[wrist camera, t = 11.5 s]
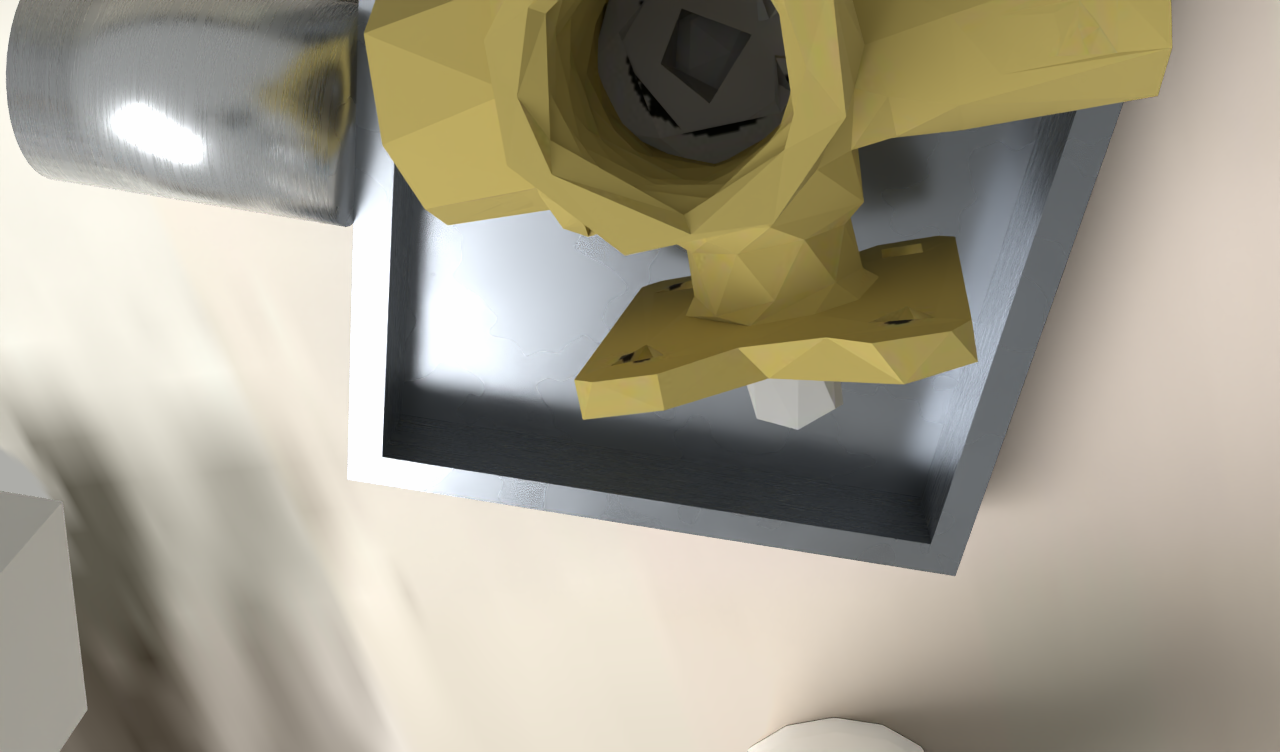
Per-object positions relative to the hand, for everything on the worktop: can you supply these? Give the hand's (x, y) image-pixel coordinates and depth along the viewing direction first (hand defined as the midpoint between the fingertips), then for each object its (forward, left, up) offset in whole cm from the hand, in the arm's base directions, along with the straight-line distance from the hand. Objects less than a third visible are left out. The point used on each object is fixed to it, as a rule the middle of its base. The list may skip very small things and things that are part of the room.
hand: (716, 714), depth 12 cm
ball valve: (-1, -2, -15) cm, 15 cm away
